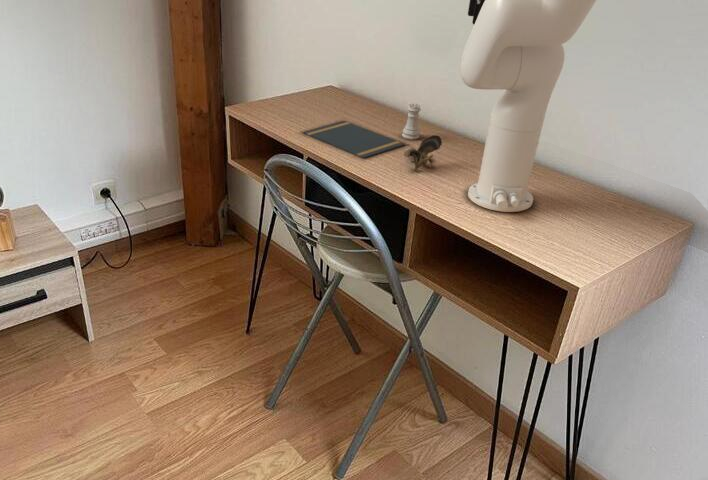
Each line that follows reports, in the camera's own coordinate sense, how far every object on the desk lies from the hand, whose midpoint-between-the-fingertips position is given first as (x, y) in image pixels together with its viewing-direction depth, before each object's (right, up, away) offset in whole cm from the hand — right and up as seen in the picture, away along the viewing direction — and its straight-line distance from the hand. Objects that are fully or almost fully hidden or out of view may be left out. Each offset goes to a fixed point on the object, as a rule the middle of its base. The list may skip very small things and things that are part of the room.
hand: (477, 20), depth 139 cm
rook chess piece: (-11, -21, +19) cm, 31 cm away
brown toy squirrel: (-11, -31, +4) cm, 33 cm away
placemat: (-26, -22, +17) cm, 38 cm away
